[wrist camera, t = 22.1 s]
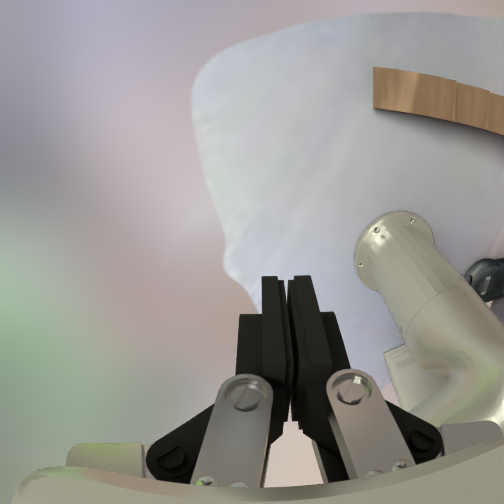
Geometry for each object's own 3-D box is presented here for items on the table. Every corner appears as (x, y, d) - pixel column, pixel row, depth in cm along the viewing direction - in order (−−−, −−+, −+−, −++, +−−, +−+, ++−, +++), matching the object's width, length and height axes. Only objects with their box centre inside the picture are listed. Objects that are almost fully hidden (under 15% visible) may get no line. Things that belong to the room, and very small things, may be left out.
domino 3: (449, 84, 28) (517, 102, 23) (448, 120, 31) (515, 138, 25) (449, 83, 27) (519, 101, 21) (447, 120, 30) (517, 139, 24)
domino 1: (373, 68, 29) (453, 81, 25) (373, 107, 31) (451, 121, 28) (373, 66, 27) (456, 80, 24) (373, 107, 30) (454, 121, 26)
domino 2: (413, 75, 28) (486, 91, 24) (412, 113, 31) (484, 129, 27) (413, 74, 27) (489, 91, 23) (413, 113, 30) (487, 130, 25)
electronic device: (514, 243, 41) (466, 259, 40) (531, 260, 36) (486, 281, 36) (499, 280, 46) (451, 300, 46) (514, 298, 42) (467, 321, 41)
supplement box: (388, 377, 54) (408, 436, 41) (382, 352, 50) (406, 418, 37) (427, 359, 52) (453, 416, 39) (426, 333, 48) (457, 394, 35)
